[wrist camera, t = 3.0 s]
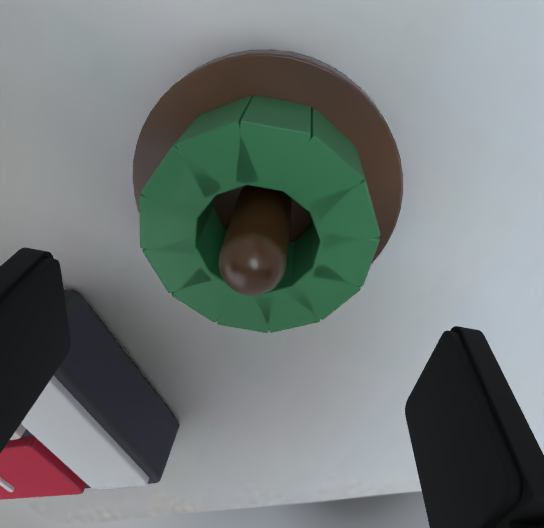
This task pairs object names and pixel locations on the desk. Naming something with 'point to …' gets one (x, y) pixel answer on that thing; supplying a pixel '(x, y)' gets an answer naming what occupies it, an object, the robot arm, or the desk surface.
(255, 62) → the walnut peg
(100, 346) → the calculator
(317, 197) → the ring
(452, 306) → the desk surface
